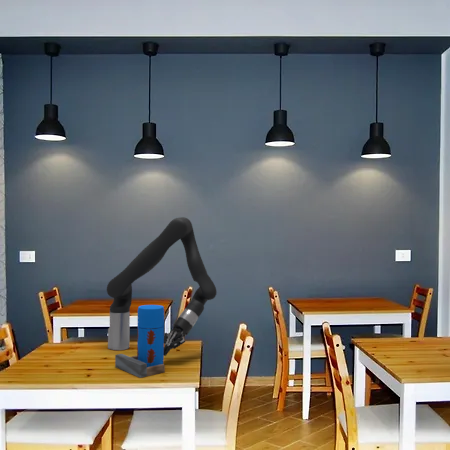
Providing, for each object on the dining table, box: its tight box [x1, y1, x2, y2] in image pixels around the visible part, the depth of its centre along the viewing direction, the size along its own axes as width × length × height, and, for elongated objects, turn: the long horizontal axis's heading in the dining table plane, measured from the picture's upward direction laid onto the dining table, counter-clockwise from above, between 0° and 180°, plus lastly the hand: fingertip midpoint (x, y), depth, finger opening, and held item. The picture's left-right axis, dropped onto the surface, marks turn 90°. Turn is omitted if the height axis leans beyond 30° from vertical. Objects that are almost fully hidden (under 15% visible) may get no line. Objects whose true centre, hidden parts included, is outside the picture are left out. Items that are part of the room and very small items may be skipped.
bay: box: [114, 353, 166, 379], centre depth 218 cm, size 12×19×5 cm, turn 41°
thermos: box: [136, 304, 165, 367], centre depth 221 cm, size 11×11×25 cm
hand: (162, 354), depth 225 cm, fingers closed
